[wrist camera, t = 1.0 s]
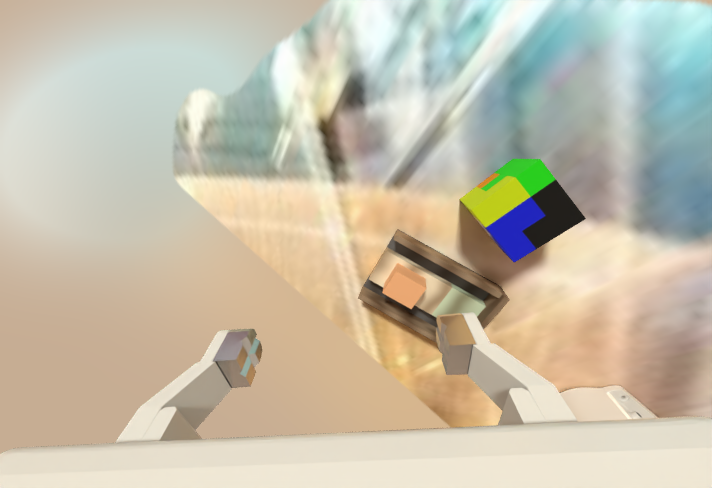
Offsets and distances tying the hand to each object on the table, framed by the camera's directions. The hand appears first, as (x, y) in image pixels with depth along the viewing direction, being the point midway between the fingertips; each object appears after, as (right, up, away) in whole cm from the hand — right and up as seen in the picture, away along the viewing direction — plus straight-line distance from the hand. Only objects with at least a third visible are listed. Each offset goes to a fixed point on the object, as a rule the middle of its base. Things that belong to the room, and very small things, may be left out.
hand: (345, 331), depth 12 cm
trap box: (+15, -5, +41) cm, 43 cm away
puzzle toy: (+26, +11, +33) cm, 43 cm away
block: (+10, -3, +38) cm, 40 cm away
